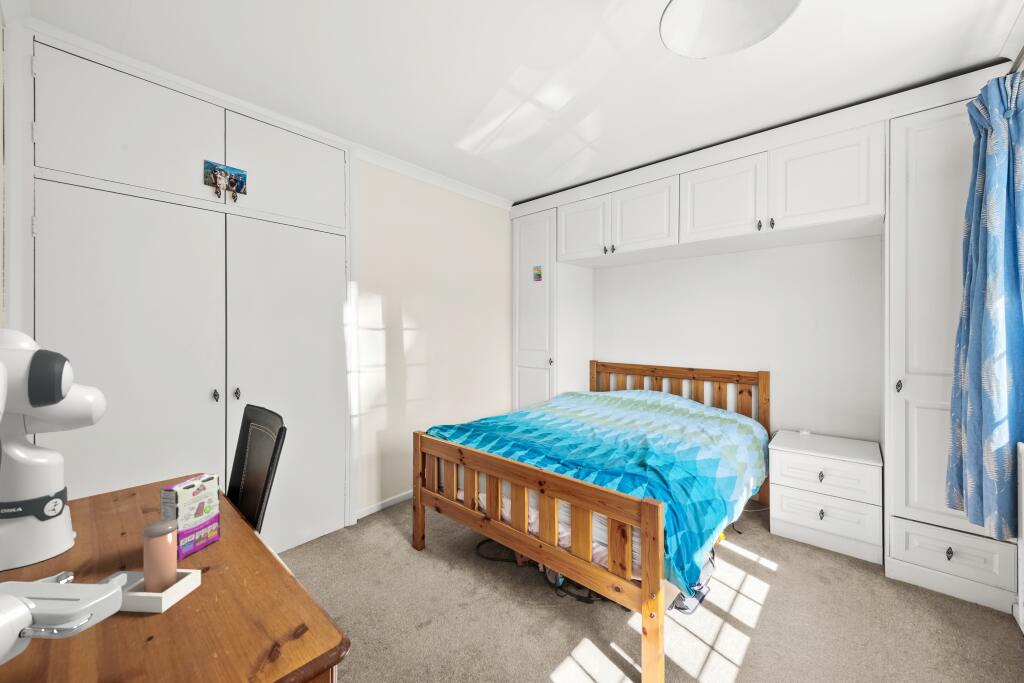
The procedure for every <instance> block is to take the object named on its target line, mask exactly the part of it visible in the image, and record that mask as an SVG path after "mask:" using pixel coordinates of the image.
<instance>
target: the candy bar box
mask: <svg viewBox="0 0 1024 683" xmlns="http://www.w3.org/2000/svg"><path fill="white" fill-rule="evenodd" d="M220 512H221V511H220V475H219V474H213V473H212V474H211V473H203V474H199V475H197V476H194V477H191V478H188V479H186V480H183V481H180V482H178V483H175V484H172V485H169V486H165V487H163V488H161V489H160V521H164V520H176V521H177V563H178V562H180V561H183V560H184V559H186V558H188V557H190V556H191V555H193V554H196V553H197V552H199V551H201V550H203V549H205V548H207V547H208V546H210V545H212V544H214V543H216V542H218V541H219V540H220V539H221V526H220V525H221V523H220V522H221V520H220V518H221V516H220ZM217 540H218V541H217Z"/></svg>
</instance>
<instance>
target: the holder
mask: <svg viewBox="0 0 1024 683" xmlns="http://www.w3.org/2000/svg"><path fill="white" fill-rule="evenodd" d="M201 585H202V570H201V569H191V568H190V569H189V568H188V569H185V568H183V569H182V568H177V583H176V584H175V585H173V586H172V587H170V588H169V589H167V590H166V591H164V592H163V593H147V592H144V578H142V579H141V580H139V581H137V582H136V583H134V584H133V585H131V586H129V587H128V588H126V589H124V590H123V591H122V604H121V607H120V609H119V611H118V612H140V613H154V614H155V613H156V614H158V613H159V614H163V613H164V612H165V611H167V610H168V609H169V608H171V607H172V606H174V605H175V604H177V602H179V601H180V600H182V599H184V598H185V597H186V596H188V594H190V593H191V592H193V591H194V590H195V589H197V588H198V587H200V586H201Z"/></svg>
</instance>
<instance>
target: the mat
mask: <svg viewBox="0 0 1024 683" xmlns="http://www.w3.org/2000/svg"><path fill="white" fill-rule="evenodd" d="M117 573H118V574H127V582H126V584H125V585H123V586H121V588H122V591H123V590H124V589H126V588H128V587H129V586H131V585H133V584H134V583H136V582H137V581H139V580H141V579H142V578H144V571H131V570H130V571H127V570H118V571H116V572H114V573H112V574H111V575H108V576H107V577H105V578H103V579H102V580H100V581H97V582H96V583H95V584H108V578H109V577H111V576H114V575H115V574H117ZM117 612H120V611H119V610H118V611H117ZM117 612H116V613H117Z"/></svg>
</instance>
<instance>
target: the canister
mask: <svg viewBox="0 0 1024 683" xmlns="http://www.w3.org/2000/svg"><path fill="white" fill-rule="evenodd" d="M142 536H143V572H144V592H147V593H163V592H164V591H166V590H167V589H169V588H170V587H172V586H173V585H175V584H176V583H177V569H178V562H177V521H176V520H164V521H161V520H159V521H156V522H152V523H149V524H147V525H146V526H144V527H143V528H142Z"/></svg>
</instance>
